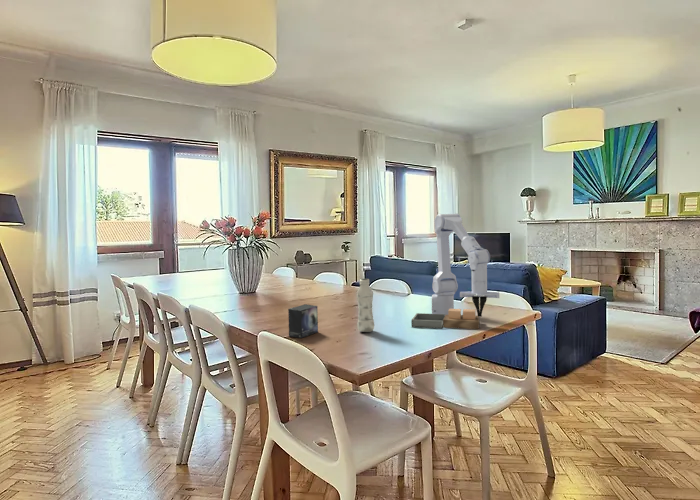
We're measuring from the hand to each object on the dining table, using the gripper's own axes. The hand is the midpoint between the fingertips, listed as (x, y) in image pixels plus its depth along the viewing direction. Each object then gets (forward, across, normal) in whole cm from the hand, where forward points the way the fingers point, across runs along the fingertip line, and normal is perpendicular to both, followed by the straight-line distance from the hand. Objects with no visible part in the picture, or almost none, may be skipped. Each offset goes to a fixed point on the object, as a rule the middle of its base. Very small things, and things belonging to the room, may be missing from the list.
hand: (479, 316), depth 168 cm
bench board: (+4, -7, 0) cm, 8 cm away
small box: (+4, -63, -25) cm, 68 cm away
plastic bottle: (+4, -41, -17) cm, 44 cm away
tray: (+4, -20, 0) cm, 20 cm away
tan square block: (+1, -9, 0) cm, 9 cm away
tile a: (+1, -4, 0) cm, 4 cm away
